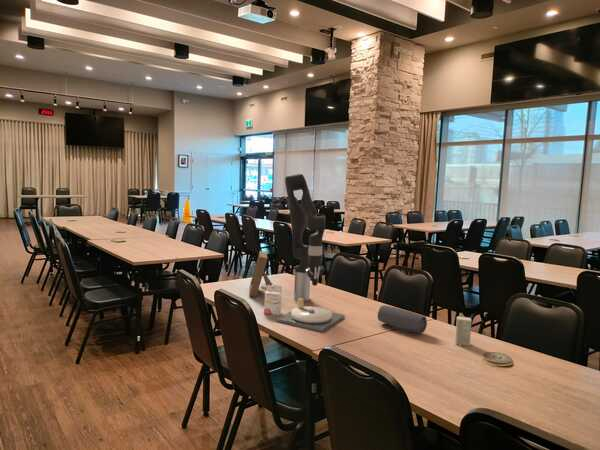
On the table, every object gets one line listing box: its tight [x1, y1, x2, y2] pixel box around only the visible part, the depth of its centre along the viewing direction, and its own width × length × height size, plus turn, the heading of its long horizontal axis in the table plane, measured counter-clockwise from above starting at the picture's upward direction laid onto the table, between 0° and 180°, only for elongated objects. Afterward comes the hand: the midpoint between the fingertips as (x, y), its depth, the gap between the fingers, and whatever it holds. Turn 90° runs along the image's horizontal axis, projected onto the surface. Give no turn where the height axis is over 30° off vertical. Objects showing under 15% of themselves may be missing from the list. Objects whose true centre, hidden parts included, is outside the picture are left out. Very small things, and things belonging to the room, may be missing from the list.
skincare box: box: [454, 316, 472, 347], centre depth 189 cm, size 6×4×12 cm
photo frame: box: [248, 250, 273, 298], centre depth 262 cm, size 15×22×25 cm
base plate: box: [276, 311, 346, 333], centre depth 215 cm, size 26×26×2 cm
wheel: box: [290, 298, 333, 323], centre depth 215 cm, size 21×21×7 cm
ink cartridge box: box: [263, 284, 282, 316], centre depth 223 cm, size 9×5×15 cm, turn 84°
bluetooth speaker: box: [377, 304, 428, 334], centre depth 206 cm, size 23×9×10 cm, turn 47°
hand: (314, 285), depth 225 cm, fingers closed
